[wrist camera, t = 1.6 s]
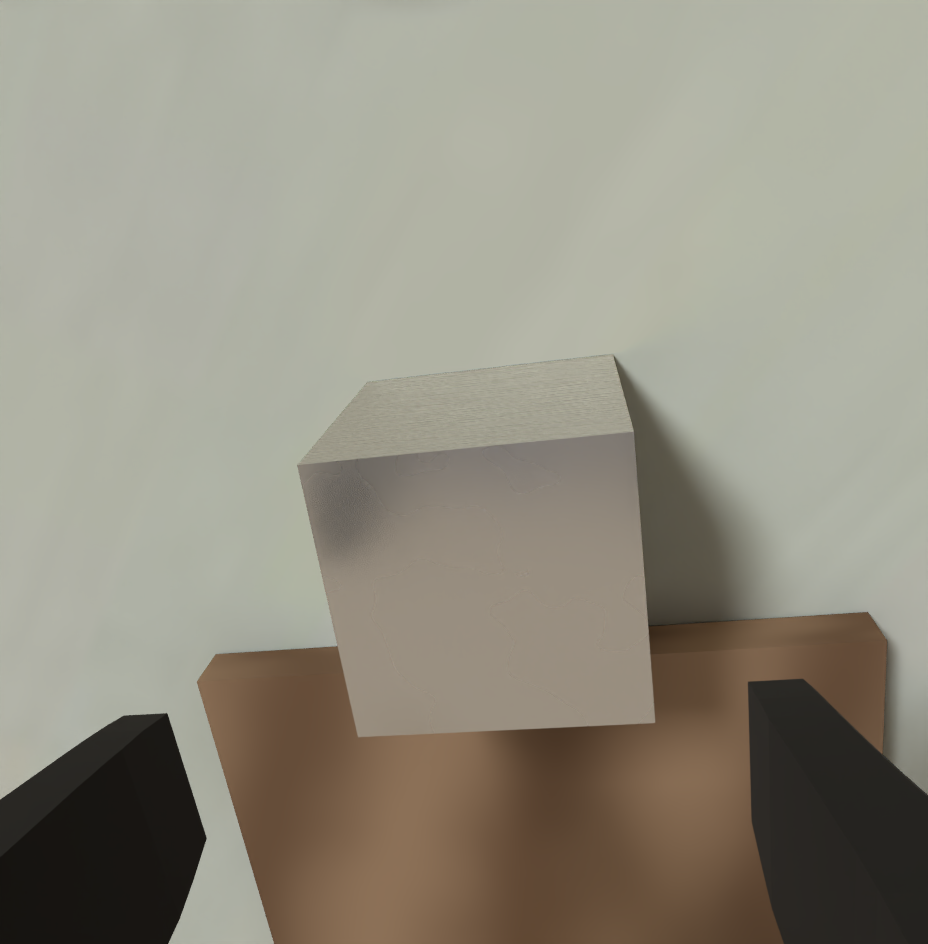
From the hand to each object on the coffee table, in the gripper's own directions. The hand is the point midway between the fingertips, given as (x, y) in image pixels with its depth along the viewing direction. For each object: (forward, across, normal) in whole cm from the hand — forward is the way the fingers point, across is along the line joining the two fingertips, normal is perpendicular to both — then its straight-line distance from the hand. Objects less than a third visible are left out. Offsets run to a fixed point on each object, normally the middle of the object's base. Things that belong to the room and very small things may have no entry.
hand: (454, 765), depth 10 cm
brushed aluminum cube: (+9, 0, 0) cm, 9 cm away
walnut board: (+9, 0, +11) cm, 14 cm away
